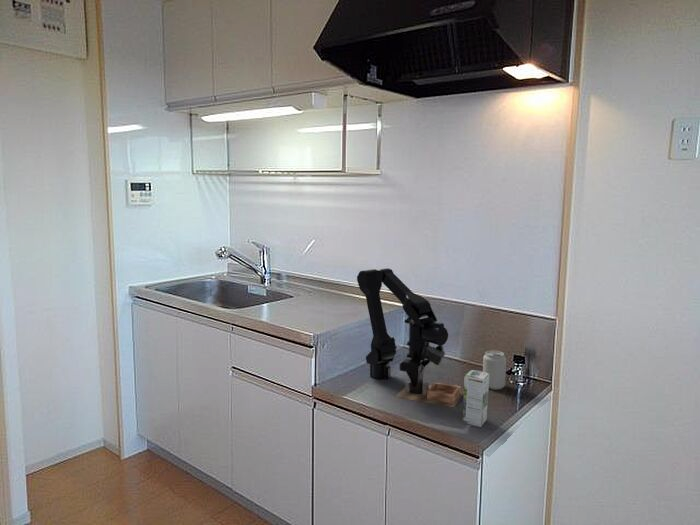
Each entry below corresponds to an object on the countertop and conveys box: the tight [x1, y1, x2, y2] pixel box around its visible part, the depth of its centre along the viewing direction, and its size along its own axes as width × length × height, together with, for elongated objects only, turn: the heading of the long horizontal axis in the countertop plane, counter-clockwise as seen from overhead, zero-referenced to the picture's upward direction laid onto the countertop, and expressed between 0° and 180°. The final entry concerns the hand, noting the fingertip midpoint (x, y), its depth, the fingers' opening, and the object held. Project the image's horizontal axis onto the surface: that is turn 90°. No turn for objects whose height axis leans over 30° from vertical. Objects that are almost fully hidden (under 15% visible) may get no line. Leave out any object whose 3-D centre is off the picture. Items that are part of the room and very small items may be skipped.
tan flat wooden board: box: [395, 379, 464, 408], centre depth 168 cm, size 19×14×4 cm
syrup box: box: [461, 369, 490, 428], centre depth 150 cm, size 6×6×14 cm
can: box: [482, 350, 507, 391], centre depth 177 cm, size 8×8×12 cm
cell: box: [411, 364, 425, 394], centre depth 170 cm, size 4×4×10 cm
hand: (417, 384), depth 170 cm, fingers closed on cell, 4 cm apart
